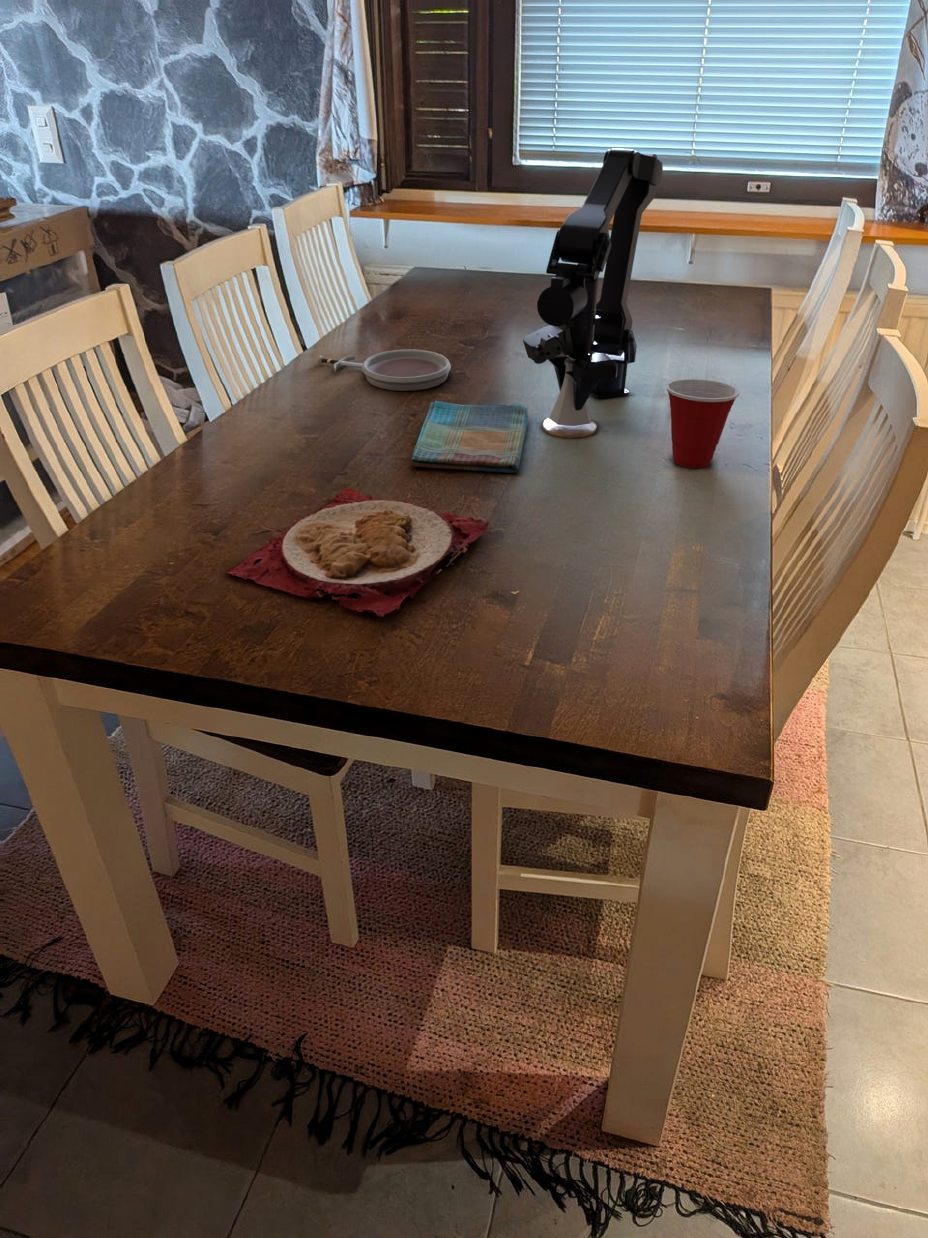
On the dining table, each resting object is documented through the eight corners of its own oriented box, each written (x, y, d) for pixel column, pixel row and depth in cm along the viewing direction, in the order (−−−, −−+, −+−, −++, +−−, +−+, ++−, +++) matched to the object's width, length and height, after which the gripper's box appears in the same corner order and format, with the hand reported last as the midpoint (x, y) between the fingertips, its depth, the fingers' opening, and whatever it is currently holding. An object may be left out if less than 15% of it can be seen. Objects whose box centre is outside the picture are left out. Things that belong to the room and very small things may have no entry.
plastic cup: (730, 451, 145) (743, 378, 138) (723, 479, 136) (737, 402, 130) (662, 442, 148) (671, 370, 141) (651, 469, 139) (660, 393, 132)
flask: (545, 411, 155) (548, 353, 149) (587, 410, 156) (592, 352, 150) (552, 428, 149) (555, 368, 143) (595, 426, 150) (601, 367, 144)
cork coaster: (581, 414, 158) (582, 411, 157) (605, 433, 151) (606, 430, 150) (534, 421, 155) (534, 418, 155) (556, 441, 148) (556, 438, 148)
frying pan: (336, 339, 185) (464, 352, 176) (337, 353, 186) (464, 367, 178) (293, 365, 172) (429, 381, 163) (295, 380, 173) (430, 397, 165)
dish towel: (529, 416, 157) (529, 402, 155) (520, 474, 138) (520, 459, 136) (430, 412, 159) (430, 398, 157) (408, 469, 139) (407, 454, 138)
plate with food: (490, 534, 123) (491, 511, 121) (385, 624, 104) (383, 599, 102) (347, 497, 133) (345, 475, 131) (226, 573, 114) (222, 549, 112)
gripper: (507, 298, 147) (505, 391, 156) (555, 331, 133) (550, 432, 141) (569, 291, 150) (564, 383, 159) (623, 323, 136) (614, 422, 144)
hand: (571, 404), depth 151 cm, fingers closed on flask, 5 cm apart
